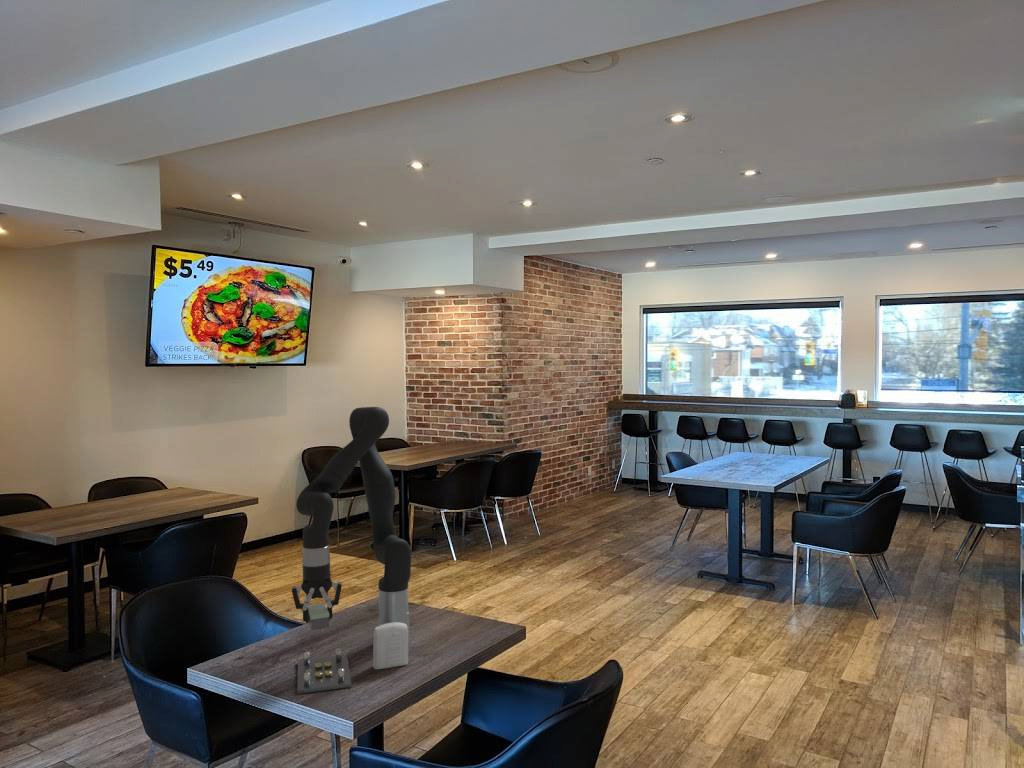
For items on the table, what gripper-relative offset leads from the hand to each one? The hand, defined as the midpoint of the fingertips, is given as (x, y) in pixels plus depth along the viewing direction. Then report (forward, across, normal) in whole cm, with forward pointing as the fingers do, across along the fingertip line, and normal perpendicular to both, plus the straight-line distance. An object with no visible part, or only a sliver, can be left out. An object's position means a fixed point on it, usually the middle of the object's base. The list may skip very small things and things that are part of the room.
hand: (317, 621), depth 204 cm
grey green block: (+1, 0, 0) cm, 1 cm away
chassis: (+15, -1, +1) cm, 15 cm away
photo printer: (+16, -20, 0) cm, 25 cm away
